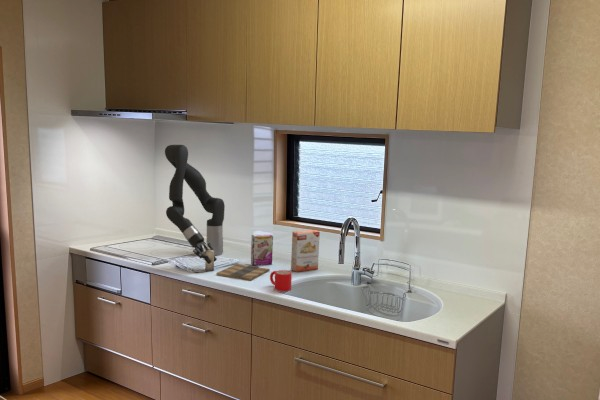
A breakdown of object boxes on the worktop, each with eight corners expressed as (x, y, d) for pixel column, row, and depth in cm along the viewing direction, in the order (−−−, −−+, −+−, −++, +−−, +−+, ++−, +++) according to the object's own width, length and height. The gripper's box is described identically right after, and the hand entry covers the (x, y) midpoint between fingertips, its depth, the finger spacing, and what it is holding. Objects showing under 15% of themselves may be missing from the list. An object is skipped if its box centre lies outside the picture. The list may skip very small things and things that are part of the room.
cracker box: (296, 272, 279) (297, 233, 276) (290, 269, 284) (291, 231, 281) (318, 269, 286) (320, 231, 283) (312, 266, 291) (314, 229, 288)
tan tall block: (208, 268, 282) (208, 249, 280) (215, 269, 280) (215, 250, 278) (203, 270, 278) (203, 251, 276) (210, 271, 276) (210, 252, 274)
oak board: (236, 266, 288) (236, 263, 288) (269, 271, 280) (269, 268, 280) (216, 275, 270) (216, 272, 270) (251, 280, 262) (251, 278, 262)
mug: (274, 283, 259) (275, 267, 258) (294, 288, 252) (295, 272, 251) (264, 287, 253) (264, 270, 252) (284, 292, 246) (284, 275, 245)
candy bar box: (252, 266, 289) (253, 236, 287) (250, 263, 294) (251, 234, 291) (272, 264, 293) (273, 235, 290) (270, 262, 297) (270, 233, 295)
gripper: (189, 234, 272) (209, 260, 269) (205, 229, 285) (224, 254, 282) (181, 243, 275) (200, 269, 272) (197, 238, 288) (216, 262, 285)
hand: (212, 261), depth 277 cm, fingers closed on tan tall block, 4 cm apart
